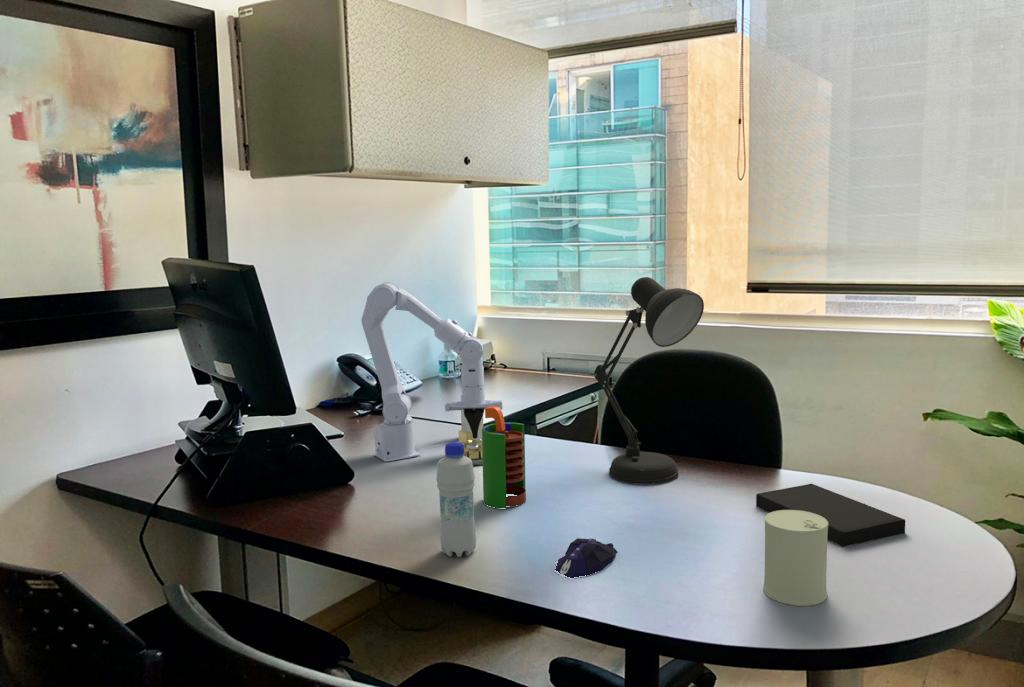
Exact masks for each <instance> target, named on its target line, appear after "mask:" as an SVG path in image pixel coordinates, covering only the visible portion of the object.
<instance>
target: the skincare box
mask: <svg viewBox="0 0 1024 687" xmlns="http://www.w3.org/2000/svg"><path fill="white" fill-rule="evenodd" d="M460 401H462V394H460ZM460 413H461V414H460V417H461V419H460V421H461V423H460V425H461V426H460V427H461V429H460V430H466V431H469V432H471V433H472V431H471V428H470V426H469V423H468V421H467V419H466V418H465V416H464V410H460ZM483 427H484V415H483V416H482V419H481V421H480V425H479V428H478V437H477V438H474V439H473V440H480V439H482V428H483ZM472 438H473V436H472Z"/></svg>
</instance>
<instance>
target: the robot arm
mask: <svg viewBox="0 0 1024 687" xmlns="http://www.w3.org/2000/svg"><path fill="white" fill-rule="evenodd" d="M394 307H395V310H396V311H403V312H405V311H406V312H408V313H411V315H413V316H414V317H416V318H417V319H418V320H419V321H420V320H421V321H422V322H423V323H424V324H425V325H427V326H429V327H430V328H432V329H433V331H434V337H435V338H437V340H439V341H440V342H442V344H444V345H446V346H447V347H449V349H451V350H453V351H454V352H458V354H459V357H460V359H461V368H460V376H461V395H462V401H461V400H459V401H458V400H457V401H448V402H445V403H444V411H445V412H451V411H461V410H464V416H465V418H466V419H467V421H468V423H469V426H470V428H471V431H472V436H473V439H474V438H477V437H478V428H479V425H480V421H481V419H482V416H483V417H484V415H485V408H487V407H492V406H497V407H499V408H500V409H501V411H502V410H503V409H504V408H503V400H491V399H489V400H488V399H485V398H486V395H485V393H486V392H485V374H484V373H485V371H484V370H485V369H484V365H483V364H484V360H483V356H484V345H483V343H482V341H481V340H480V339H479V338H478V337H477V336H474V335H473V333H472V332H471V331H469V332H467V330H465V329H464V328H463V327H461V326H459V325H458V321H457V320H456V319H455V318H453V319H451V318H448V317H447V318H441V317H439V315H437V314H436V313H435V312H433V311H432V310H431V309H430V308H428V307H427V306H426V305H425V304H424V303H422V302H421V301H420V300H419V299H417V297H415V296H414V295H413V294H411V293H410V292H409V291H407V290H405V289H403V288H401V287H400V288H399V287H398V285H397V284H396V283H394V282H390V281H387V282H383V283H381V284H379V285H376V286H375V287H374V288H373V289H372V290H371V291H370V292H369V294H368V295H367V298H366V302H365V307H364V309H363V313H362V316H361V325H362V328H363V331H364V332H363V333H364V335H365V338H366V342H367V344H368V348H369V351H370V356H371V358H372V361H373V364H374V368H375V371H376V375H377V377H378V381H379V384H380V387H381V398H382V402H383V406H382V415H383V418H384V419H383V422H382V423H379V424H377V425H375V427H374V448H375V452H374V455H375V456H376V457H377V458H378V459H381V460H382V461H383V462H385V463H386V462H393V461H398V460H403V459H410V458H415V457H421V454H420V453H419V452H417V451H416V450H415V444H414V443H415V442H414V441H415V440H414V424H413V422H414V421H413V417H412V416H411V415H410V411H411V410H412V406H413V403H412V402H413V401H412V398H411V397H410V396H409V395H408V394H407V392H406V390H405V388H404V386H403V383H402V382H401V381H400V378H399V373H398V371H397V367H396V365H395V361H394V357H393V354H392V350H391V347H390V343H389V341H388V337H387V333H386V331H385V327H384V324H383V323H384V320H385V318H386V317H387V315H388V314H389V312H390V311H391V310H392V309H393V308H394Z"/></svg>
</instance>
